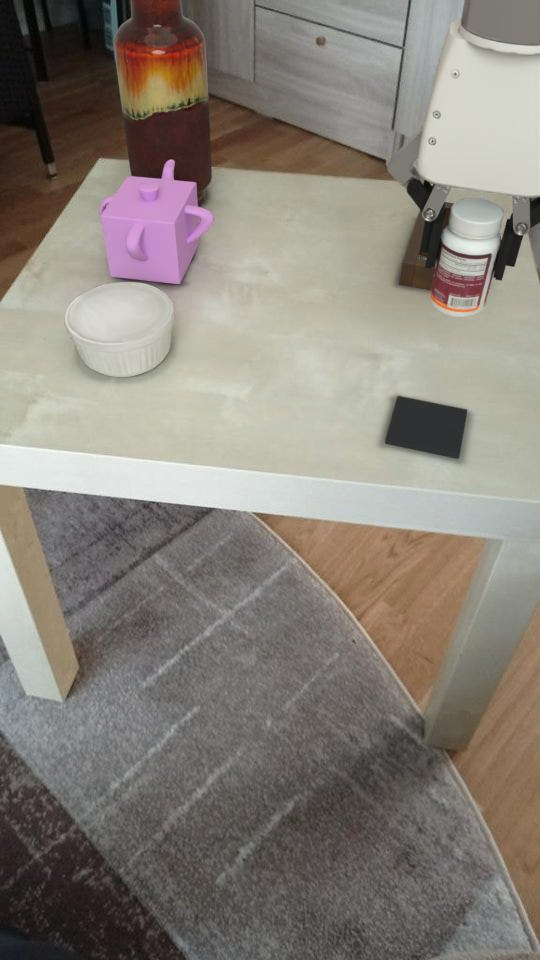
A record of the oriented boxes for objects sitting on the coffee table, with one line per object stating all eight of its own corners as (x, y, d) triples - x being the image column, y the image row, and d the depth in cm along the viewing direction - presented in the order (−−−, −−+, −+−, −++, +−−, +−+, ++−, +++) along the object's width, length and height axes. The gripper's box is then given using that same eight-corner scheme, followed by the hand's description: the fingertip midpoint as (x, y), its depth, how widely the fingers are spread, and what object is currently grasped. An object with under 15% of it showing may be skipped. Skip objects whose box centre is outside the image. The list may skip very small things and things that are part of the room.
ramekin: (53, 371, 77) (42, 329, 73) (105, 312, 84) (97, 272, 80) (149, 396, 75) (143, 354, 71) (194, 333, 82) (191, 293, 78)
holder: (487, 229, 98) (492, 208, 96) (473, 297, 87) (479, 275, 85) (419, 219, 100) (423, 198, 97) (398, 284, 89) (402, 262, 87)
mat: (466, 413, 73) (467, 409, 73) (458, 459, 69) (459, 454, 69) (397, 399, 75) (397, 395, 74) (385, 443, 70) (385, 439, 70)
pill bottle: (450, 281, 65) (470, 189, 59) (496, 303, 63) (521, 210, 56) (417, 302, 63) (433, 208, 56) (462, 326, 60) (485, 231, 54)
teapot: (131, 220, 98) (121, 144, 91) (232, 231, 97) (230, 154, 89) (85, 296, 86) (69, 215, 79) (200, 309, 85) (194, 228, 77)
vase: (122, 211, 100) (89, -13, 81) (150, 175, 107) (125, -38, 88) (199, 221, 99) (184, -4, 79) (222, 184, 106) (214, -31, 86)
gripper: (662, 6, 47) (573, 259, 61) (401, -18, 51) (372, 227, 64) (668, 43, 42) (571, 309, 56) (379, 14, 46) (353, 272, 59)
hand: (465, 263), depth 60 cm, fingers closed on pill bottle, 4 cm apart
